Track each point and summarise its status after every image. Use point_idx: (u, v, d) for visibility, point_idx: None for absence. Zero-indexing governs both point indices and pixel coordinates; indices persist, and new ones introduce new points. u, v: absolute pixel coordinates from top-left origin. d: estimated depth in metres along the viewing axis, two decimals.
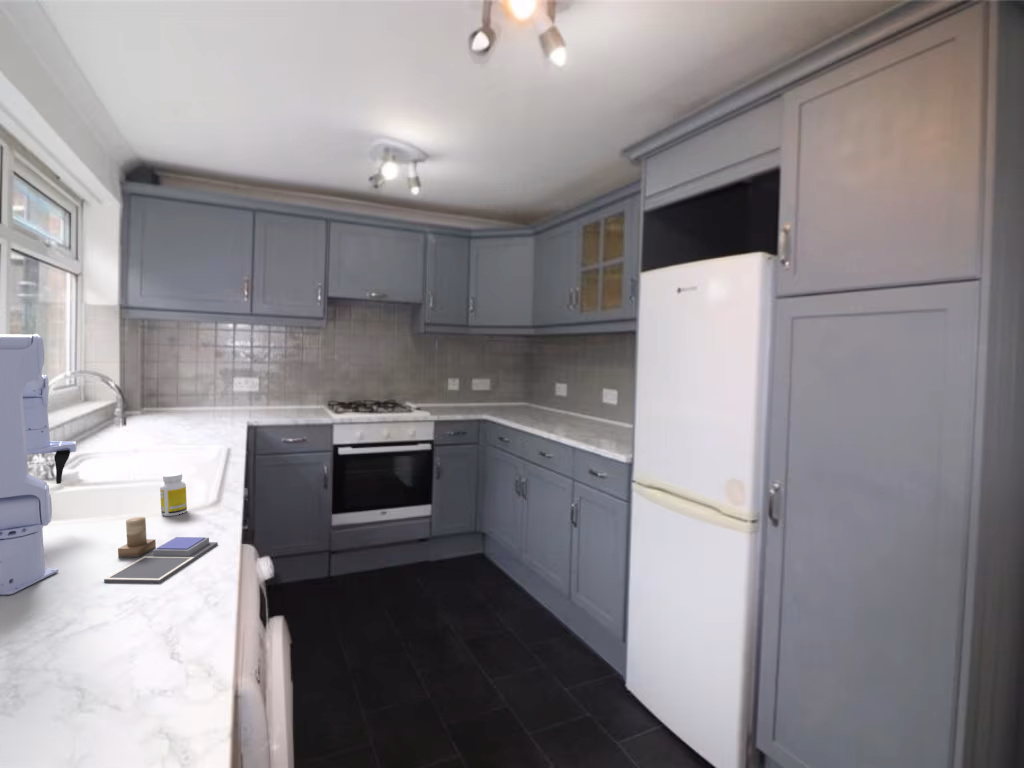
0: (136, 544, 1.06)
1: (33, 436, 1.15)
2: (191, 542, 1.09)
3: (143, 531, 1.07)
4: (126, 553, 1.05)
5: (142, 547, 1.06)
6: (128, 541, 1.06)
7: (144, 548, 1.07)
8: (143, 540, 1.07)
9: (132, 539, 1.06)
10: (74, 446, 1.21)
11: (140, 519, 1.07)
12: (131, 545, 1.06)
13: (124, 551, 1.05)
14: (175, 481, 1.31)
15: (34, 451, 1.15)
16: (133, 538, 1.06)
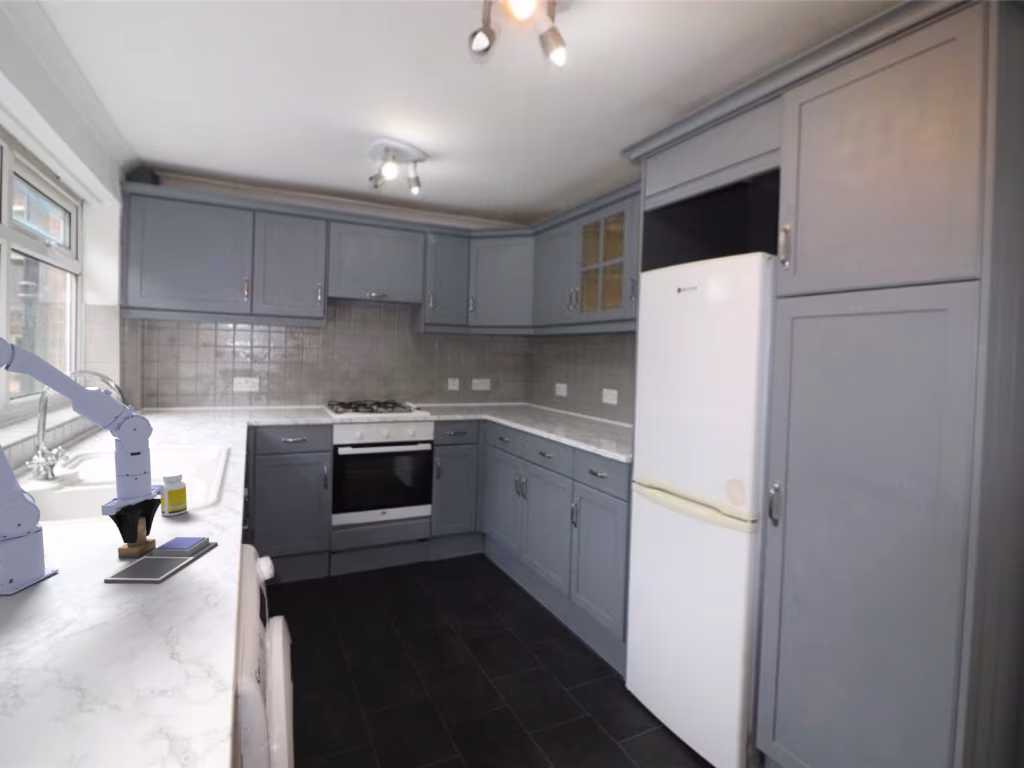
0: (136, 544, 1.06)
1: None
2: (191, 542, 1.09)
3: (143, 530, 1.07)
4: (126, 553, 1.05)
5: (142, 547, 1.06)
6: None
7: (144, 548, 1.07)
8: (144, 539, 1.07)
9: None
10: (102, 508, 1.00)
11: (140, 518, 1.07)
12: (131, 545, 1.06)
13: (124, 551, 1.05)
14: (176, 481, 1.31)
15: None
16: None
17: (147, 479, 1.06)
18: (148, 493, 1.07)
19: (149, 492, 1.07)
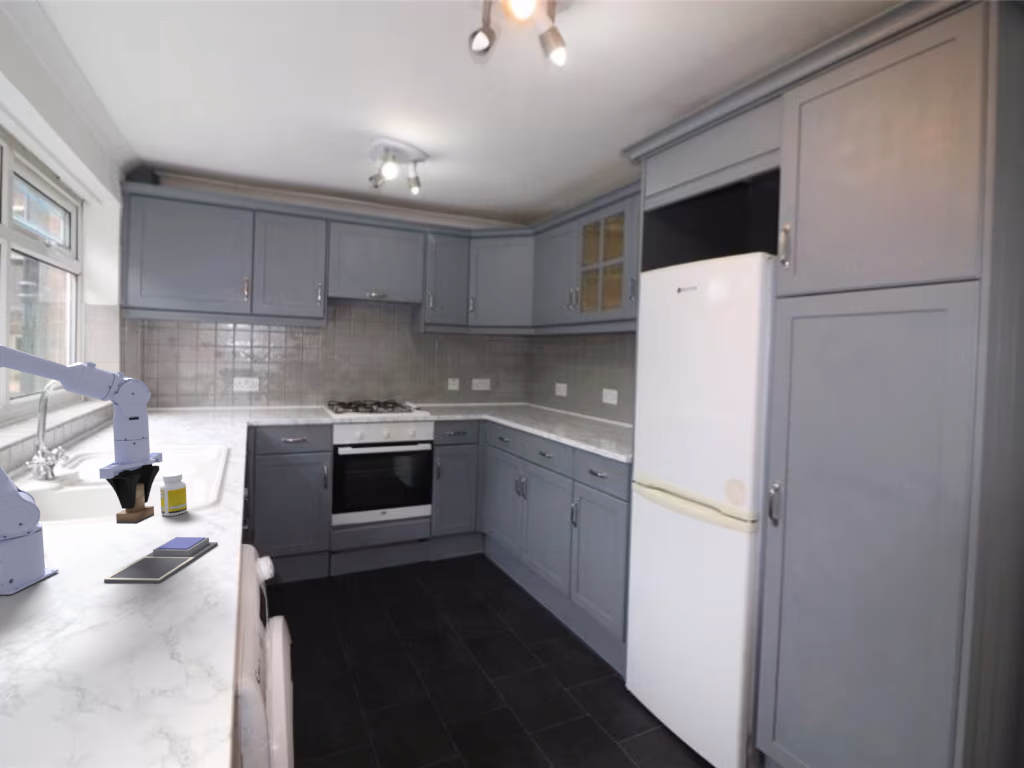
0: (134, 509, 1.06)
1: None
2: (191, 542, 1.09)
3: (141, 496, 1.07)
4: (124, 518, 1.05)
5: (140, 512, 1.06)
6: None
7: (142, 514, 1.06)
8: (142, 505, 1.07)
9: None
10: (100, 471, 0.99)
11: (138, 484, 1.07)
12: (129, 510, 1.05)
13: (122, 516, 1.05)
14: (176, 481, 1.31)
15: None
16: None
17: (145, 445, 1.06)
18: (146, 459, 1.06)
19: (147, 458, 1.06)
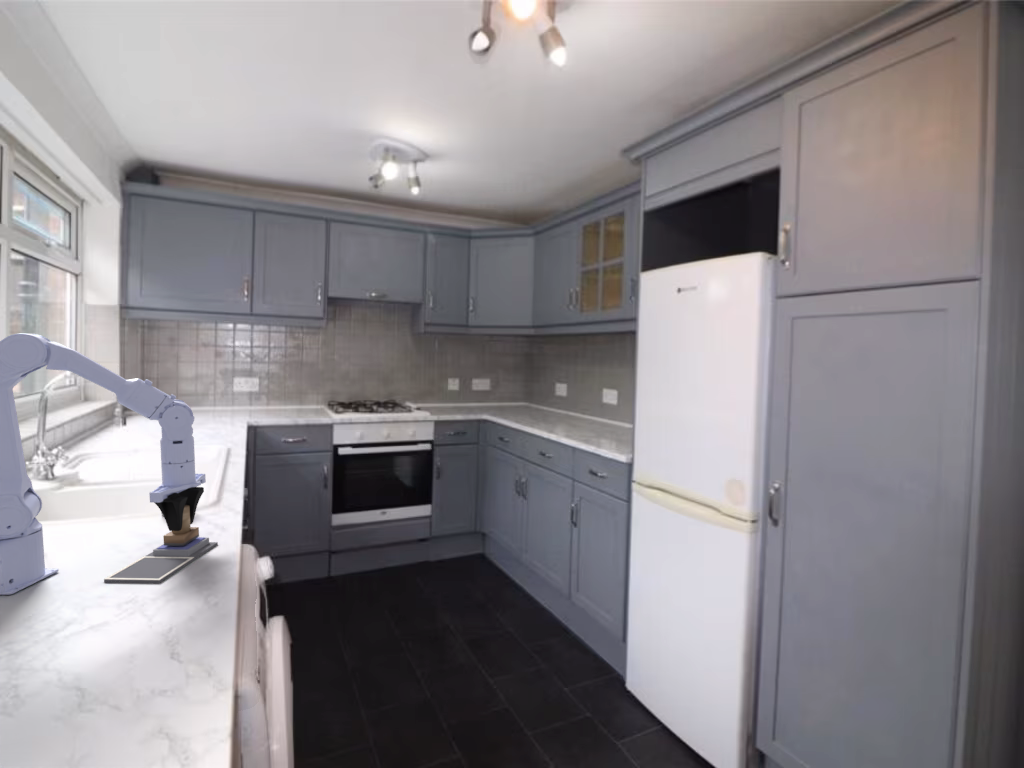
0: (181, 531, 1.07)
1: None
2: (191, 542, 1.09)
3: (188, 518, 1.08)
4: (171, 540, 1.06)
5: (187, 534, 1.07)
6: None
7: (189, 535, 1.08)
8: (188, 527, 1.08)
9: None
10: (150, 495, 1.00)
11: (184, 506, 1.08)
12: (176, 532, 1.07)
13: (169, 538, 1.06)
14: None
15: None
16: None
17: (192, 467, 1.07)
18: (193, 481, 1.07)
19: (193, 480, 1.08)
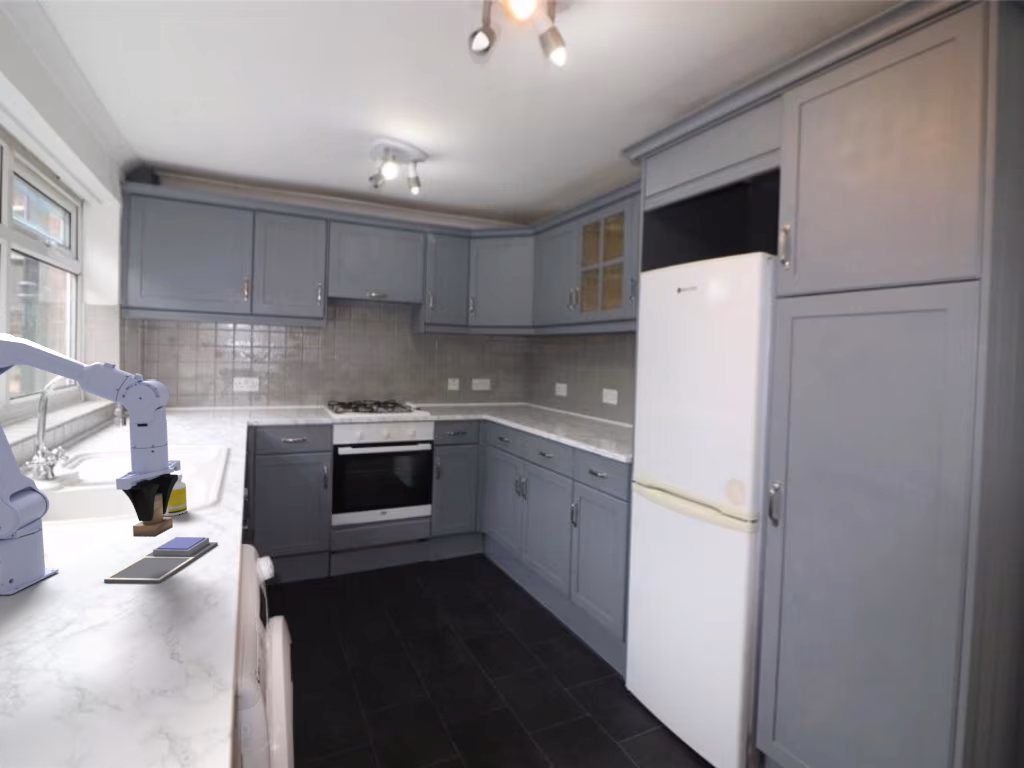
0: (152, 521, 0.99)
1: None
2: (191, 542, 1.09)
3: (160, 507, 1.00)
4: (142, 531, 0.98)
5: (159, 525, 0.99)
6: None
7: (161, 526, 0.99)
8: (160, 517, 1.00)
9: None
10: (117, 482, 0.92)
11: (156, 494, 1.00)
12: (147, 522, 0.98)
13: (139, 529, 0.97)
14: None
15: None
16: None
17: (164, 452, 0.99)
18: (165, 467, 0.99)
19: (166, 466, 0.99)
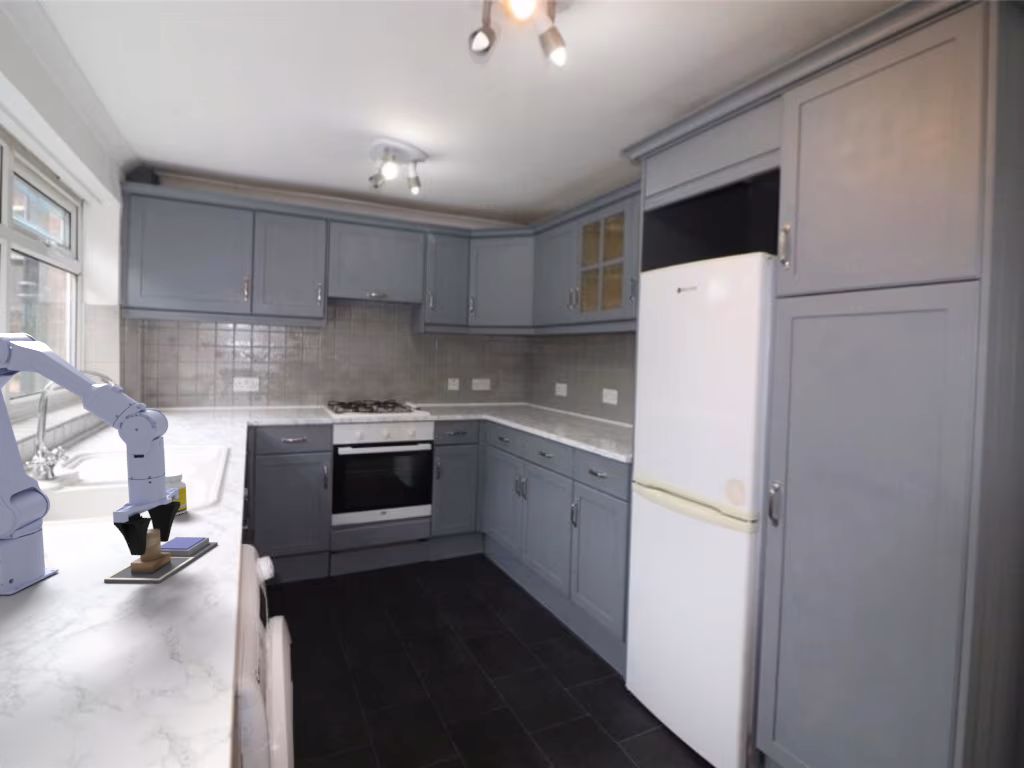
0: (150, 558, 0.98)
1: None
2: (191, 542, 1.09)
3: (158, 543, 0.99)
4: (139, 568, 0.97)
5: (156, 561, 0.98)
6: (141, 555, 0.98)
7: (159, 562, 0.99)
8: (158, 553, 0.99)
9: (145, 553, 0.98)
10: None
11: (154, 530, 0.99)
12: (145, 559, 0.98)
13: (137, 566, 0.97)
14: (176, 481, 1.31)
15: None
16: (147, 552, 0.98)
17: (162, 483, 0.98)
18: (163, 498, 0.98)
19: (164, 497, 0.99)
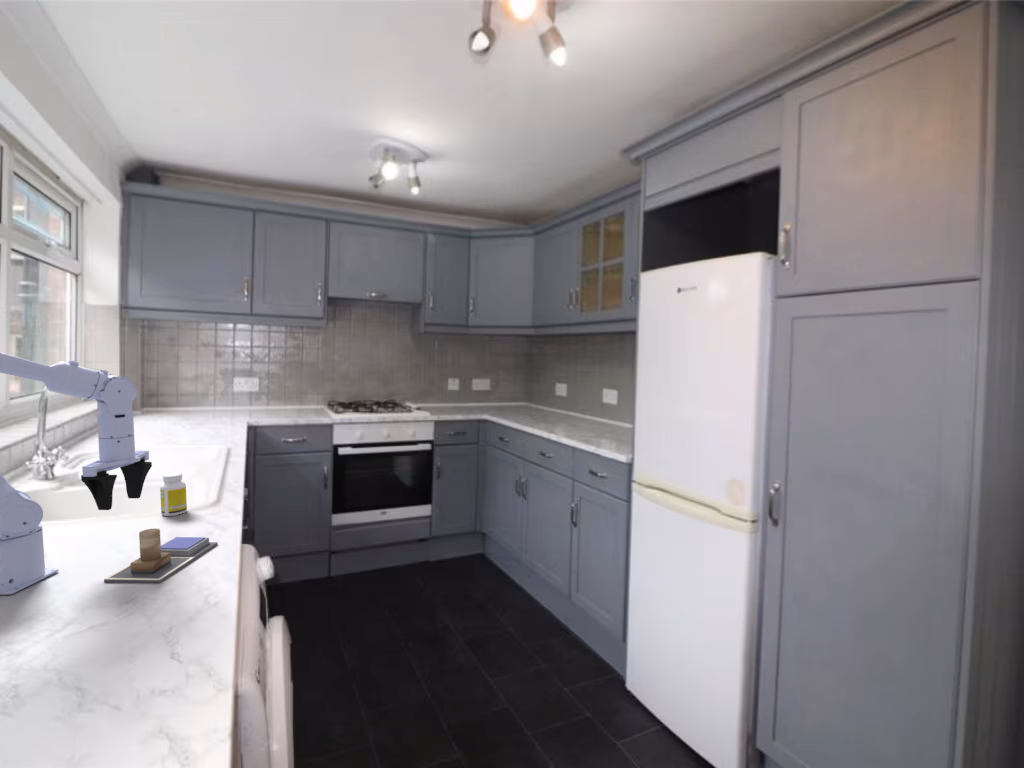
0: (150, 558, 0.98)
1: None
2: (191, 542, 1.09)
3: (158, 543, 0.99)
4: (139, 568, 0.97)
5: (156, 561, 0.98)
6: (141, 555, 0.98)
7: (159, 562, 0.99)
8: (158, 553, 0.99)
9: (145, 553, 0.98)
10: None
11: (154, 530, 0.99)
12: (145, 559, 0.98)
13: (137, 566, 0.97)
14: (176, 481, 1.31)
15: None
16: (147, 552, 0.98)
17: (130, 443, 1.05)
18: (131, 457, 1.05)
19: (132, 456, 1.06)
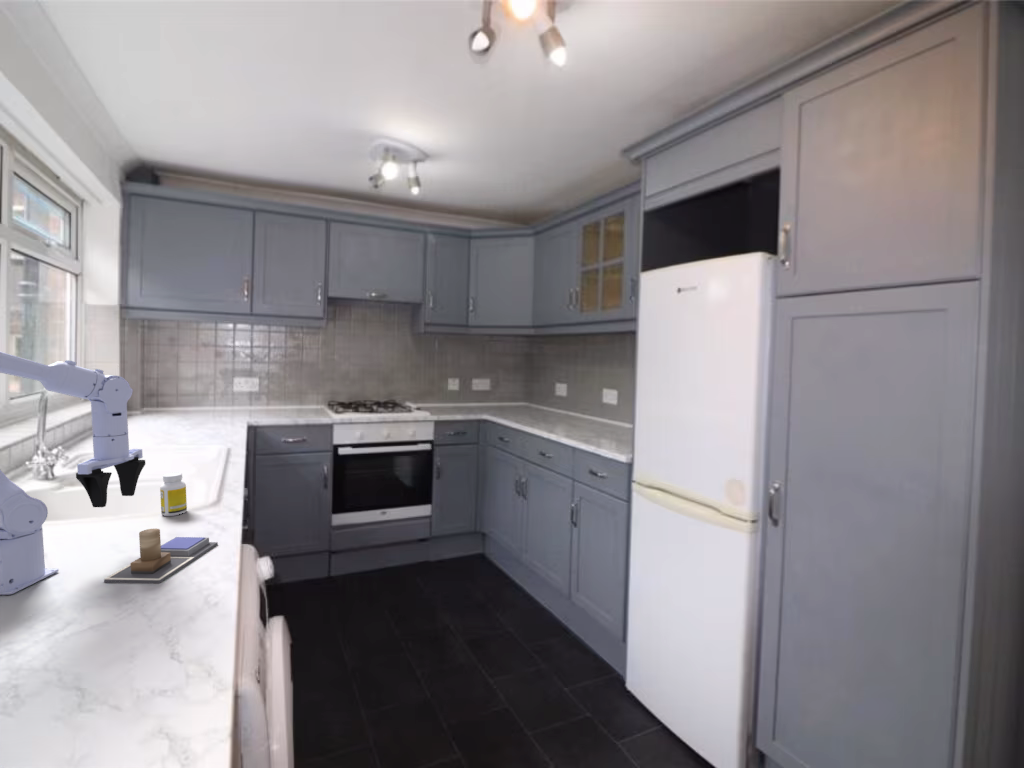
0: (150, 558, 0.98)
1: None
2: (191, 542, 1.09)
3: (158, 543, 0.99)
4: (139, 568, 0.97)
5: (156, 561, 0.98)
6: (141, 555, 0.98)
7: (159, 562, 0.99)
8: (158, 553, 0.99)
9: (145, 553, 0.98)
10: None
11: (154, 530, 0.99)
12: (145, 559, 0.98)
13: (137, 566, 0.97)
14: (176, 481, 1.31)
15: None
16: (147, 552, 0.98)
17: (124, 441, 1.07)
18: (125, 455, 1.07)
19: (126, 454, 1.08)
